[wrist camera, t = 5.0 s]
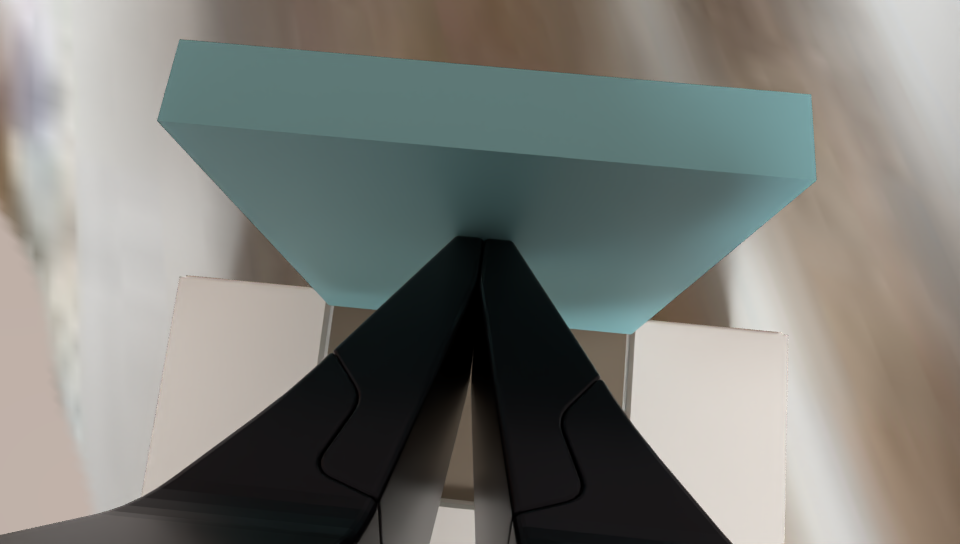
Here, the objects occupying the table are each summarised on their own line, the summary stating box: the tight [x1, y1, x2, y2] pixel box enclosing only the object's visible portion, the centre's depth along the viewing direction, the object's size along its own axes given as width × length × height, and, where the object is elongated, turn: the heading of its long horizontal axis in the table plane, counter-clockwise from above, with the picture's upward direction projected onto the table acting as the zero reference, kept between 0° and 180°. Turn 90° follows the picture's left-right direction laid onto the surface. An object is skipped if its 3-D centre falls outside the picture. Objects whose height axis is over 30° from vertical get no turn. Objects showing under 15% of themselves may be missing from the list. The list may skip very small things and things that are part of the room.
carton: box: [141, 275, 788, 544], centre depth 15 cm, size 9×14×4 cm, turn 84°
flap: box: [157, 39, 816, 334], centre depth 10 cm, size 1×7×8 cm, turn 83°
